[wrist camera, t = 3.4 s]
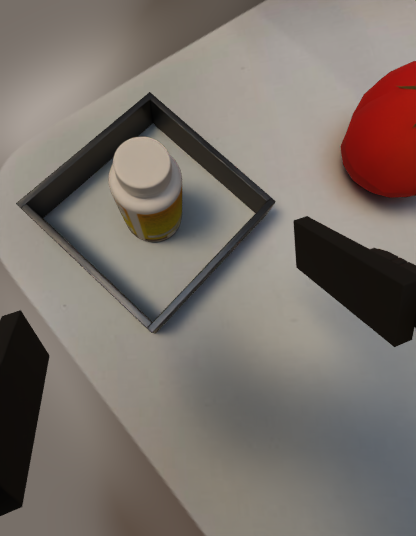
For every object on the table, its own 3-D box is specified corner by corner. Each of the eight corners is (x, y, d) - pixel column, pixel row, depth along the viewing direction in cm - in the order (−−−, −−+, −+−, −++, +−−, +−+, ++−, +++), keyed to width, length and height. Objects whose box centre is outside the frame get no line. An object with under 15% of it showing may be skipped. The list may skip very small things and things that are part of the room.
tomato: (387, 105, 37) (472, 10, 26) (443, 188, 35) (559, 122, 25) (301, 143, 35) (356, 56, 24) (356, 232, 33) (442, 182, 23)
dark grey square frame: (155, 333, 29) (152, 333, 26) (33, 218, 31) (15, 203, 27) (266, 215, 33) (276, 201, 29) (152, 116, 34) (149, 91, 31)
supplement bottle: (191, 206, 32) (197, 148, 22) (164, 253, 31) (157, 213, 21) (143, 181, 32) (127, 112, 23) (114, 226, 31) (84, 175, 21)
